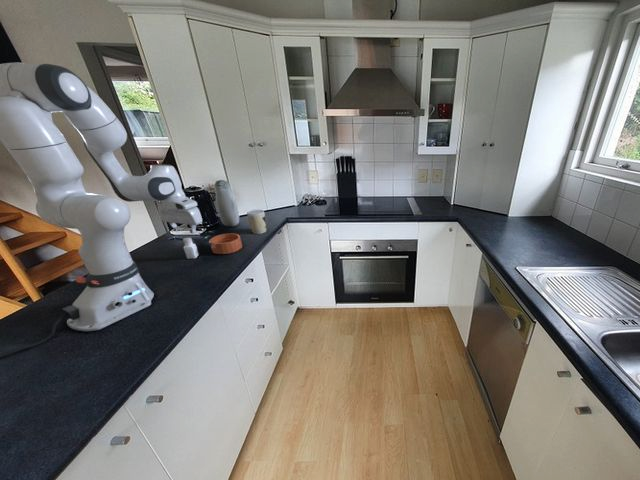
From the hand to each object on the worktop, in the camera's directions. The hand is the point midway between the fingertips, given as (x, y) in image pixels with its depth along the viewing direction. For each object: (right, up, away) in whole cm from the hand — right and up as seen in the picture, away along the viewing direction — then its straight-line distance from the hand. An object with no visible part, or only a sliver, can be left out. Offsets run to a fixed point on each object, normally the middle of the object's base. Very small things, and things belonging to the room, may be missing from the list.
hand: (185, 231), depth 125 cm
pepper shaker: (0, -12, +5) cm, 13 cm away
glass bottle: (-3, +7, +44) cm, 45 cm away
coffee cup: (+17, +3, +36) cm, 40 cm away
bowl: (+12, -8, +14) cm, 20 cm away
